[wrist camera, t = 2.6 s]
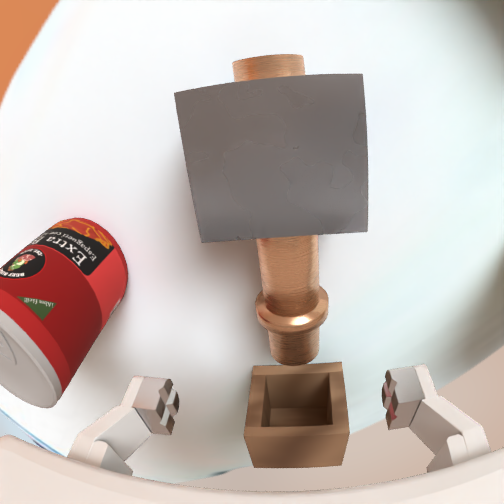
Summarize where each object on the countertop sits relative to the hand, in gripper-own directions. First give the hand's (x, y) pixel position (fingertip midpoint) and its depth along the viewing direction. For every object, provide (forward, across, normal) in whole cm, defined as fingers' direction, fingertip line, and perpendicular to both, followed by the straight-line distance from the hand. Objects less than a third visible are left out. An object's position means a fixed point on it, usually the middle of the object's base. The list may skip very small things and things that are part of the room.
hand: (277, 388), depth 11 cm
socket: (+10, -1, +13) cm, 17 cm away
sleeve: (+10, -1, -7) cm, 13 cm away
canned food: (+11, +14, 0) cm, 18 cm away
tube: (+9, -1, -3) cm, 9 cm away
